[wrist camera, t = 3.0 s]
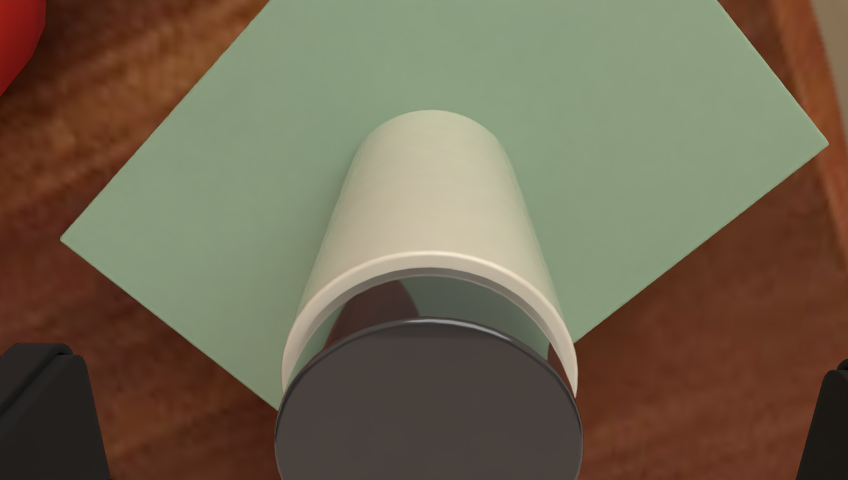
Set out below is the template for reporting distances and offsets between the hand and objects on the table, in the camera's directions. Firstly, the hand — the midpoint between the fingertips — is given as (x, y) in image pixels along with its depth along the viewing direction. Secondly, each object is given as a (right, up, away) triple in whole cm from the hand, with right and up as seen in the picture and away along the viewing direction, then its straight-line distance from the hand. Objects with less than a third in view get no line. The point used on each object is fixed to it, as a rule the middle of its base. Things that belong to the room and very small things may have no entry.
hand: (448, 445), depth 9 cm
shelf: (0, +7, +17) cm, 18 cm away
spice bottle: (0, +4, +9) cm, 10 cm away
